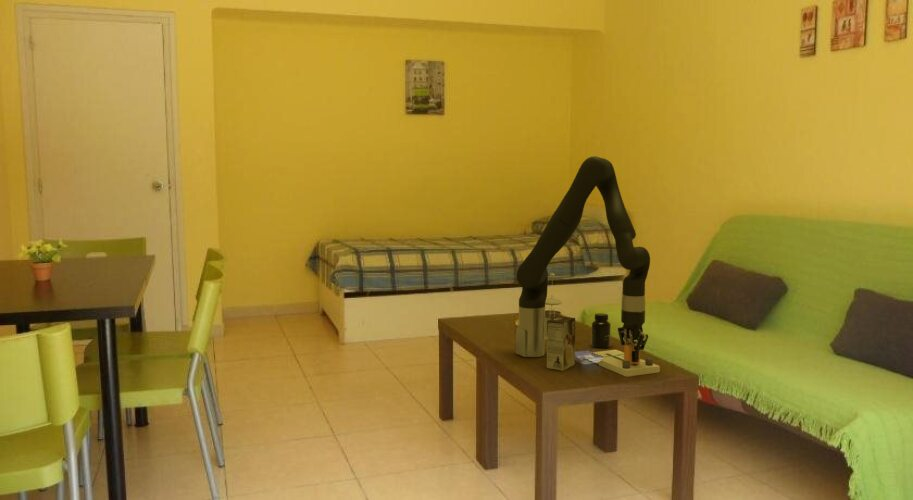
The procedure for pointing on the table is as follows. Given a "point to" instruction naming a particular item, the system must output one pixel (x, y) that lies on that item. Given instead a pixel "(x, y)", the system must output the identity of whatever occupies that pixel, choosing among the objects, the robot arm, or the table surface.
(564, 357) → the coffee box
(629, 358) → the fader cap
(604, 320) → the supplement bottle
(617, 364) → the console
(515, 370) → the table surface
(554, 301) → the french press
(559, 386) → the table surface
